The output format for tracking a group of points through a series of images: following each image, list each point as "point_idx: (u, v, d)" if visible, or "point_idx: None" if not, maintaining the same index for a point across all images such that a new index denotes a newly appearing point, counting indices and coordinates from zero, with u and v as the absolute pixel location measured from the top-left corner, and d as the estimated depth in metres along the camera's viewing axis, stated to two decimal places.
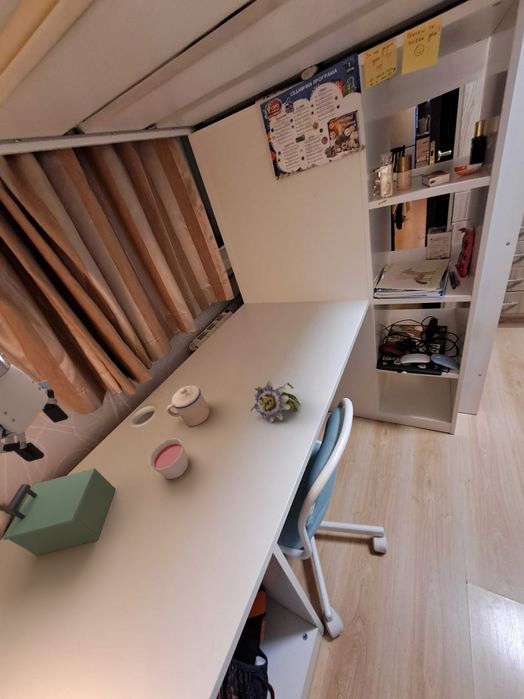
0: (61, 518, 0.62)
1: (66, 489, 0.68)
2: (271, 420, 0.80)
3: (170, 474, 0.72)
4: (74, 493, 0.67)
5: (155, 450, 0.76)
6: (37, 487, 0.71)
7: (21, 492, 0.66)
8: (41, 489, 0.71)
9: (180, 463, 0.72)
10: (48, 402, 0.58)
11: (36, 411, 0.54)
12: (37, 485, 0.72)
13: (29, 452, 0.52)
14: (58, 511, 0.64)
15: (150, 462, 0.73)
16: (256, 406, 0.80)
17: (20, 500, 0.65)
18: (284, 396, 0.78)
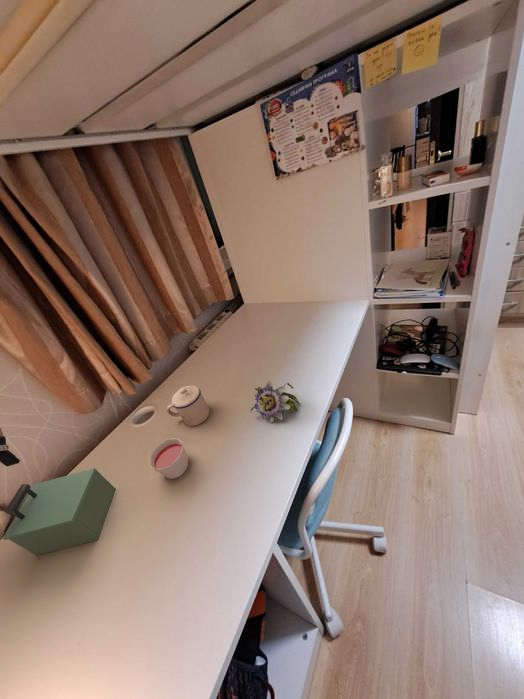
0: (61, 518, 0.62)
1: (66, 489, 0.68)
2: (271, 420, 0.80)
3: (170, 474, 0.72)
4: (74, 493, 0.67)
5: (155, 450, 0.76)
6: (37, 487, 0.71)
7: (21, 492, 0.66)
8: (41, 489, 0.71)
9: (180, 463, 0.72)
10: None
11: None
12: (37, 485, 0.72)
13: None
14: (58, 511, 0.64)
15: (150, 462, 0.73)
16: (256, 406, 0.80)
17: (20, 500, 0.65)
18: (284, 396, 0.78)
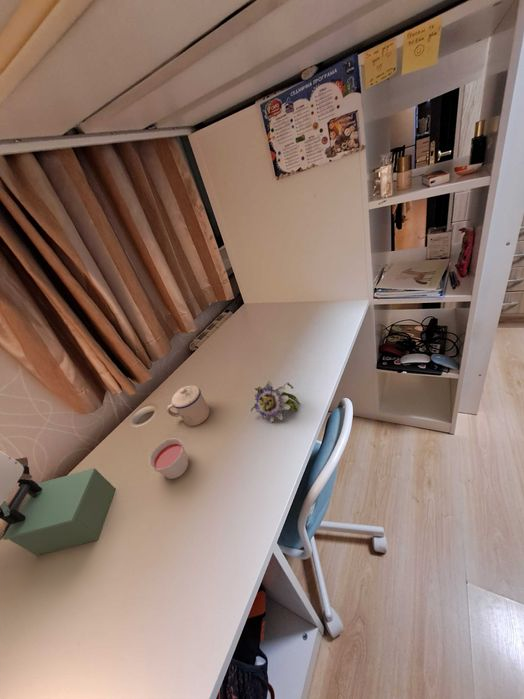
0: (61, 518, 0.62)
1: (66, 489, 0.68)
2: (271, 420, 0.80)
3: (170, 474, 0.72)
4: (74, 493, 0.67)
5: (155, 450, 0.76)
6: None
7: (21, 492, 0.66)
8: None
9: (180, 463, 0.72)
10: (23, 478, 0.66)
11: (12, 484, 0.63)
12: None
13: (12, 517, 0.62)
14: (58, 511, 0.64)
15: (150, 462, 0.73)
16: (256, 406, 0.80)
17: (20, 500, 0.65)
18: (284, 396, 0.78)
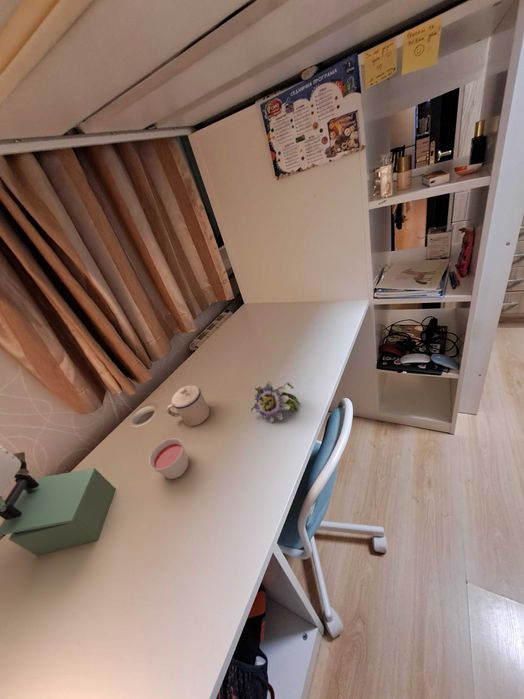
0: (60, 517, 0.62)
1: (65, 487, 0.68)
2: (271, 420, 0.80)
3: (170, 474, 0.72)
4: (73, 492, 0.67)
5: (155, 450, 0.76)
6: None
7: (19, 488, 0.65)
8: None
9: (180, 463, 0.72)
10: (20, 473, 0.65)
11: (9, 479, 0.62)
12: None
13: (8, 513, 0.61)
14: (57, 510, 0.63)
15: (150, 462, 0.73)
16: (256, 406, 0.80)
17: (17, 496, 0.64)
18: (284, 396, 0.78)
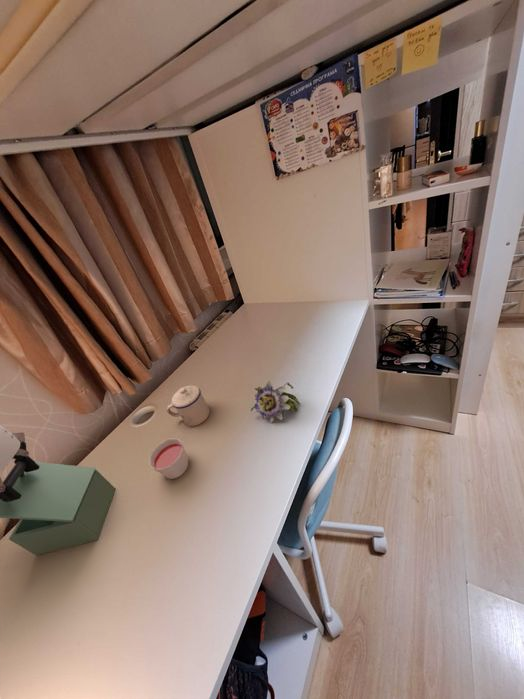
0: (59, 514, 0.61)
1: (62, 481, 0.67)
2: (271, 420, 0.80)
3: (170, 474, 0.72)
4: (73, 489, 0.66)
5: (155, 450, 0.76)
6: None
7: (19, 470, 0.62)
8: None
9: (180, 463, 0.72)
10: (19, 453, 0.62)
11: (7, 459, 0.58)
12: None
13: (7, 494, 0.58)
14: (55, 505, 0.62)
15: (150, 462, 0.73)
16: (256, 406, 0.80)
17: (16, 479, 0.61)
18: (284, 396, 0.78)
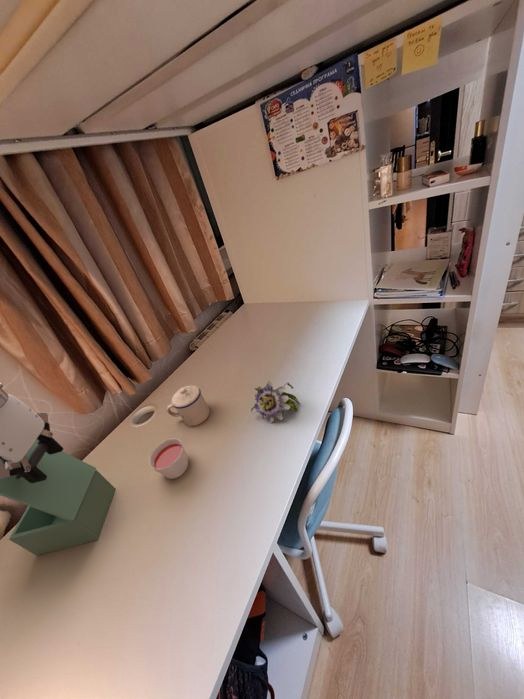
0: (63, 510, 0.61)
1: (68, 474, 0.66)
2: (271, 420, 0.80)
3: (170, 474, 0.72)
4: (76, 486, 0.65)
5: (155, 450, 0.76)
6: (34, 444, 0.64)
7: (43, 454, 0.60)
8: None
9: (180, 463, 0.72)
10: (43, 434, 0.60)
11: (32, 438, 0.56)
12: None
13: (33, 475, 0.56)
14: (59, 498, 0.61)
15: (150, 462, 0.73)
16: (256, 406, 0.80)
17: (38, 462, 0.59)
18: (284, 396, 0.78)
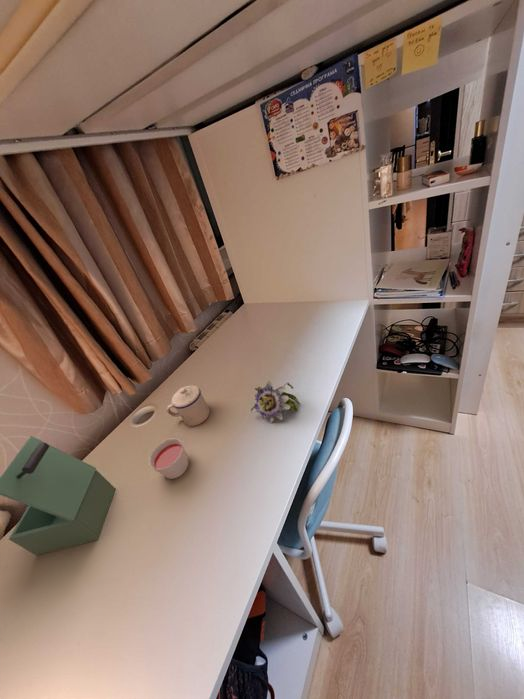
0: (63, 510, 0.61)
1: (68, 474, 0.65)
2: (271, 420, 0.80)
3: (170, 474, 0.72)
4: (76, 486, 0.65)
5: (155, 450, 0.76)
6: (35, 443, 0.64)
7: (43, 454, 0.60)
8: None
9: (180, 463, 0.72)
10: None
11: None
12: (34, 440, 0.64)
13: None
14: (60, 498, 0.61)
15: (150, 462, 0.73)
16: (256, 406, 0.80)
17: (38, 462, 0.59)
18: (284, 396, 0.78)
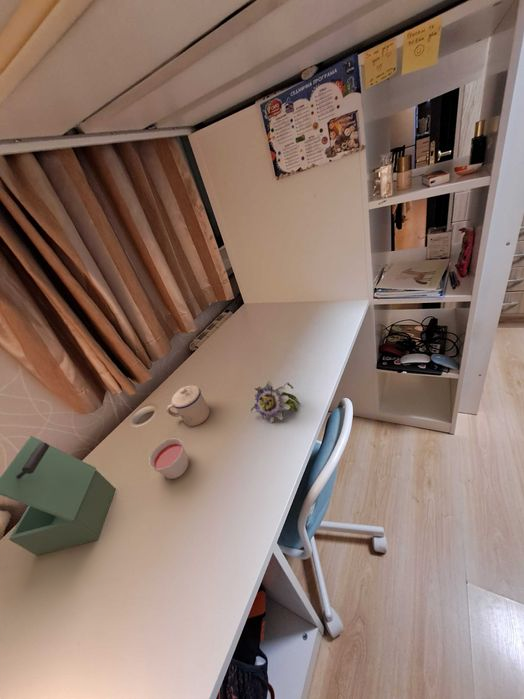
0: (63, 510, 0.61)
1: (68, 474, 0.65)
2: (271, 420, 0.80)
3: (170, 474, 0.72)
4: (76, 486, 0.65)
5: (155, 450, 0.76)
6: (35, 443, 0.64)
7: (43, 454, 0.60)
8: None
9: (180, 463, 0.72)
10: None
11: None
12: (34, 440, 0.64)
13: None
14: (60, 498, 0.61)
15: (150, 462, 0.73)
16: (256, 406, 0.80)
17: (38, 462, 0.59)
18: (284, 396, 0.78)
